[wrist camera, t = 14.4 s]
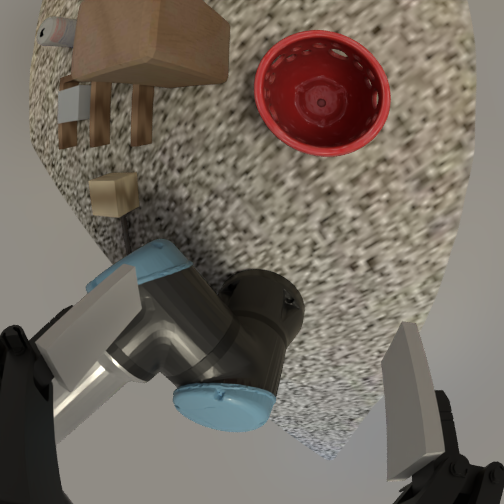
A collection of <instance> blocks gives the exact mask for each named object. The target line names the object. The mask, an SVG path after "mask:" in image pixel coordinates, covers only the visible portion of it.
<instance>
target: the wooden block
mask: <svg viewBox="0 0 504 504" xmlns="http://www.w3.org/2000/svg"><path fill="white" fill-rule="evenodd" d="M229 40H230V25H229V23H228V22H227V21H226V20H225V19H224V18H223V17H221V16H220V15H219V14H218V13H217V12H216V11H214V10H213V9H212V8H211V7H210V6H208V5H207V4H206V3H205V2H204V1H202V0H83V1H82V3H81V5H80V6H79V11H78V17H77V23H76V30H75V37H74V46H73V56H72V68H71V75H72V78H73V79H74V80H76V81H83V82H113V83H127V84H139V85H149V86H157V87H165V88H175V87H184V86H194V85H207V84H221V83H223V82H226V81H227V78H228V65H229Z"/></svg>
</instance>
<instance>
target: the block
mask: <svg viewBox="0 0 504 504" xmlns="http://www.w3.org/2000/svg"><path fill="white" fill-rule="evenodd" d="M90 97H91V85H78V86H75V87H72V88H68V89H65V90H62V91H59V93H58V124H59V123H65V122H72V121H79V120H85V119H90Z"/></svg>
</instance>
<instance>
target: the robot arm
mask: <svg viewBox="0 0 504 504" xmlns="http://www.w3.org/2000/svg"><path fill="white" fill-rule="evenodd" d="M192 265H193V263H192V261H189V260H188V259H187V258H186V257H185V256H184V255H183V254H182V253H181V252H180V251H179V249H178V248H177V247H176V246H175V245H174V244H173V243H172V242H171V241H169V240H166V239H156V240H153V241H151V242H149V243H147V244H146V245H144V246H142V247H140V248H139V249H137V250H135V251H134V252H132V253H130V254H129V255H127V256H126V257H124V258H123V259H121V260H120V261H118V262H117V263H115V264H114V265H112V266H111V267H109V268H108V269H107V270H105V271H104V272H102V273H101V274H100V275H98V277H96V278H95V279H94V280H93V281H91V282H89V284H87V286H86V291H87V295H86V296H85V297H83V298H82V299H81V300H80V301H79V302H78V303H77V304H76V305H74V306H73V305H71V306H69V307H67V308H65V309H63V310H62V311H61V312H59V313H58V314H57V315H56V316H55V318H53V319H52V320H51V321H50V323H49V322H48V323H47V324H46V325H45V326H44V327H43V328H42V329H41V330H40V331H39V332H38V333H37V334H36V335H34V337H32V338H31V339H30V340H29V341H28V339H27V337H26V335H25V333H24V331H23V329H22V328H21V327H20V326H19V325H12V326H9V327H7V328H6V329H5V330H4V331H3V332H2V333H1V335H0V504H73V503H72V502H71V500H70V499H69V498H68V496H67V495H66V494H65V493H64V491H63V490H62V486H61V481H60V475H59V468H58V461H57V454H56V445H57V444H58V443H60V442H61V441H62V440H63V439H64V438H65V437H66V436H67V435H69V434H70V433H71V432H72V431H73V430H75V429H76V428H77V427H78V426H79V425H80V424H81V423H82V422H84V421H85V420H86V419H87V418H88V417H89V416H90V415H92V413H94V412H95V411H96V410H97V409H98V408H99V407H100V406H102V405H103V404H104V403H105V402H106V401H107V400H109V399H110V398H111V397H112V396H113V395H114V394H115V393H116V392H117V391H119V390H120V389H121V388H122V387H123V386H124V385H125V384H126V383H127V382H130V381H133V382H140V383H147V382H148V381H149V380H151V379H152V378H153V377H154V376H155V375H156V374H157V373H159V372H161V373H162V374H163V375H165V376H166V377H167V378H168V379H169V380H170V381H171V382H172V383H173V384H174V385H175V386H176V387H177V389H176V390H175V391H174V393H173V395H174V396H173V403H174V404H175V407H176V409H177V410H178V411H179V412H180V413H181V414H182V415H184V416H185V417H187V418H188V419H190V420H192V421H194V422H195V423H198V424H200V425H203V426H205V427H209V428H212V429H216V430H221V431H228V432H246V431H251V430H255V429H257V428H259V427H261V426H262V425H264V424H265V423H266V422H267V420H268V418H269V416H270V413H271V410H272V407H273V405H274V404H275V402H276V396H277V391H278V387H279V382H280V377H281V373H282V368H283V363H284V358H285V353H286V349H287V347H288V346H289V345H290V343H291V342H292V341H293V339H294V338H295V337H296V335H297V334H298V333H299V331H300V329H301V327H302V324H303V319H304V312H305V308H304V302H303V299H302V297H301V295H300V293H299V291H298V290H297V289H296V287H295V286H294V285H293V284H292V283H290V282H289V281H288V280H287V279H285V278H283V277H282V276H280V275H278V274H275V273H273V272H269V271H265V270H246V271H242V272H239V273H237V274H235V275H233V276H232V277H230V278H229V279H228V280H227V281H226V282H225V283H224V285H223V287H222V288H221V290H220V292H219V293H218V295H217V294H216V293H215V292H214V291H213V289H212V288H211V287H210V286H209V285H208V284H207V282H206V281H205V280H204V279H203V278H202V277H201V275H200V274H199V273H198V272H197V271H196V269H195V268H194V267H193V266H192ZM381 364H382V373H383V383H384V394H385V407H386V424H387V482H390V481H404V480H406V479H407V478H409V477H410V476H412V482H411V483H410V484H408V485H406V486H405V487H403V488H402V489H400V490H399V492H402V491H403V493H402V494H401V495H400V496H399V497H398V498H397V500H396V501H395V502H394V503H393V504H500V500H501V496H502V492H503V488H504V466H503V465H502V464H501V463H499V462H492V463H490V464H489V465H487V466H486V467H480V466H475V465H471V464H469V461H468V459H467V458H466V457H465V456H463V455H461V454H460V453H459V448H458V442H457V436H456V431H455V425H454V421H453V415H452V413H451V406H450V401H449V399H448V398H447V396H446V394H445V393H444V391H443V390H434V386H433V382H432V378H431V374H430V370H429V366H428V362H427V359H426V355H425V351H424V348H423V344H422V341H421V337H420V334H419V331H418V328H417V325H416V323H411V322H404V321H402V323H401V325H400V327H399V329H398V331H397V333H396V335H395V337H394V339H393V341H392V343H391V345H390V347H389V349H388V350H387V352H386V354H385V356H384V358H383V360H382V361H381Z"/></svg>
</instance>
